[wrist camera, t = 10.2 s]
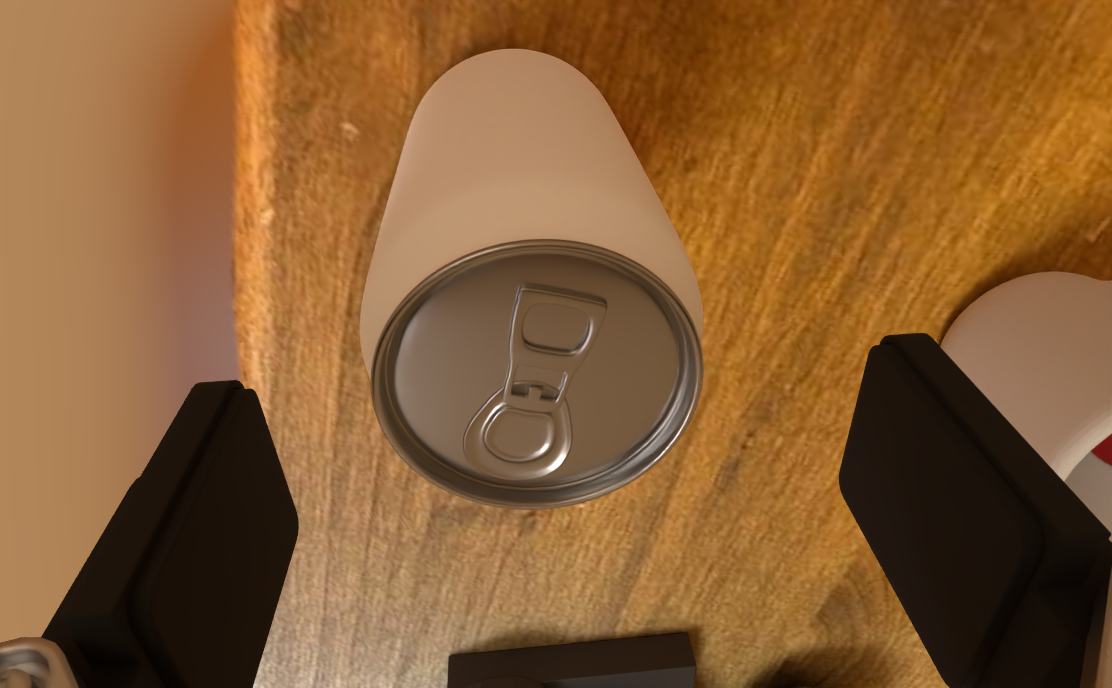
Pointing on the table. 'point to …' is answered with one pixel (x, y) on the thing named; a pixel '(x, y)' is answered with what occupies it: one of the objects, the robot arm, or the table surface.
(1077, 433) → the cup
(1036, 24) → the table surface
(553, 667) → the scale
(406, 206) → the can
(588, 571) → the table surface
